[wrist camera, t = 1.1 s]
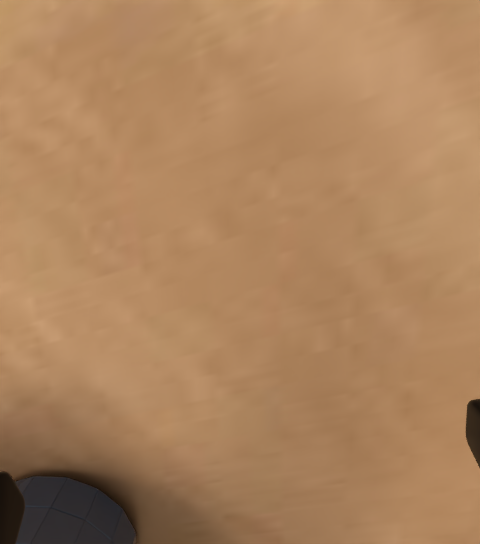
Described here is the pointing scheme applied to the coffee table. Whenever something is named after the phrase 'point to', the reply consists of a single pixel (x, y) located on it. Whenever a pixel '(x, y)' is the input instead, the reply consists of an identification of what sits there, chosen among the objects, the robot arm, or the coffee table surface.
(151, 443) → the coffee table surface
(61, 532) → the pot
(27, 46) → the coffee table surface
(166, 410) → the coffee table surface
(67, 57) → the coffee table surface
